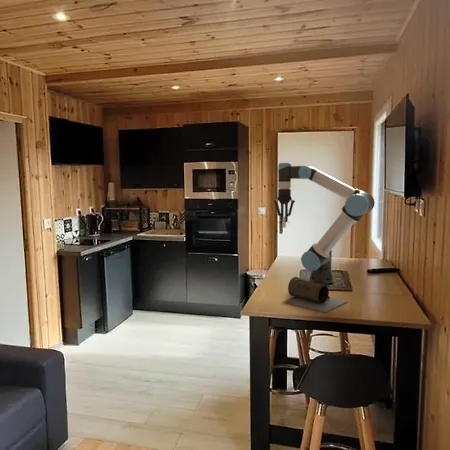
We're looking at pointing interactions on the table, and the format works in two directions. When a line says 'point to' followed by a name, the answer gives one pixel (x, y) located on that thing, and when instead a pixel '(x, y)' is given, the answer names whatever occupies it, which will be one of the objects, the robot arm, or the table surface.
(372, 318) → the table surface
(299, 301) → the mat
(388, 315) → the table surface
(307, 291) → the beer stein
